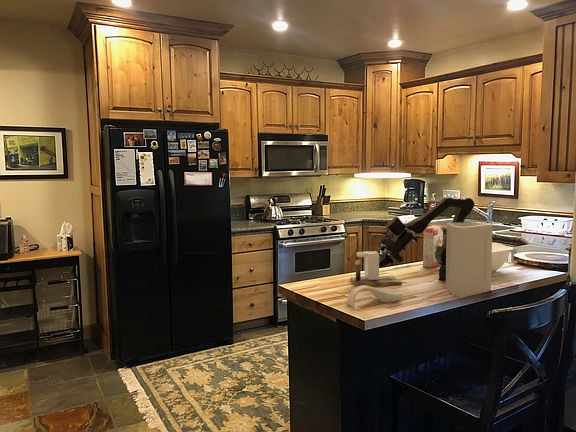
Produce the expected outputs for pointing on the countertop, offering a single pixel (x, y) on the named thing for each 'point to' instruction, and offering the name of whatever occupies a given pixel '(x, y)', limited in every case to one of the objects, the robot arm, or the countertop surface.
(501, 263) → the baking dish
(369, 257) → the white block with lip
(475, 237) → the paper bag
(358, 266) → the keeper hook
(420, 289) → the countertop surface
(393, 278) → the walnut rail
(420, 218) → the robot arm
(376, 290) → the spoon rest
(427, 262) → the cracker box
